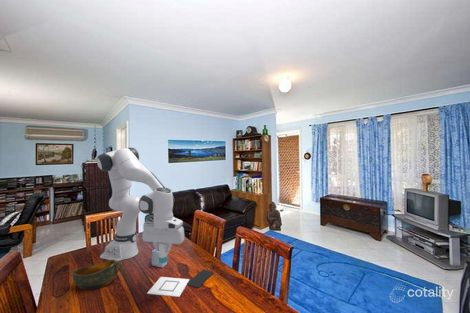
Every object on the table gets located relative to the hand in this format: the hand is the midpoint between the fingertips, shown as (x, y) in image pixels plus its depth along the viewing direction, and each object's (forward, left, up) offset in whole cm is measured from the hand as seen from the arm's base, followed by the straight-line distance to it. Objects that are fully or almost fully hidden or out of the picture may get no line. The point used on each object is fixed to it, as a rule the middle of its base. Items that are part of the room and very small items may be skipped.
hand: (163, 251), depth 96 cm
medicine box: (-14, +22, -20) cm, 33 cm away
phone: (+15, +13, -20) cm, 28 cm away
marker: (0, 0, -5) cm, 5 cm away
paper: (+1, +4, -20) cm, 20 cm away
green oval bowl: (-36, +1, -20) cm, 41 cm away
